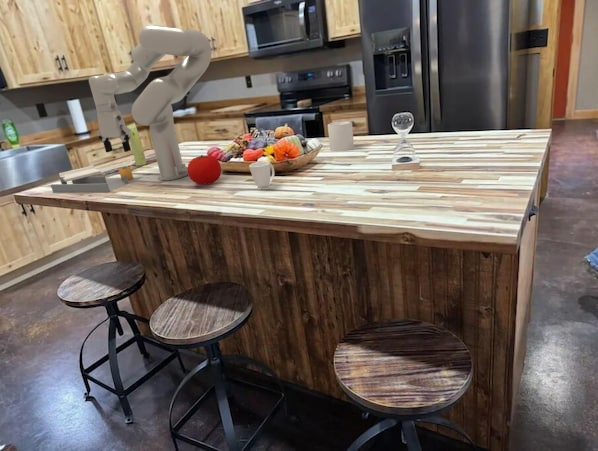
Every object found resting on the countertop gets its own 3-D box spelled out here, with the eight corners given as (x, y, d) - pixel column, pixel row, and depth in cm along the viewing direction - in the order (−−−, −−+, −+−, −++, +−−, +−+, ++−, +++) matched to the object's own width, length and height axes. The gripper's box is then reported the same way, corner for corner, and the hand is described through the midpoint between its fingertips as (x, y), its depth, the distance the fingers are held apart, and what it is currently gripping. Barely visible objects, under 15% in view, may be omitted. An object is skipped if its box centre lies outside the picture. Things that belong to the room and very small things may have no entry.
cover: (97, 177, 187) (93, 165, 185) (103, 180, 179) (99, 168, 177) (60, 186, 179) (56, 174, 177) (65, 190, 171) (61, 177, 169)
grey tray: (143, 177, 176) (140, 169, 175) (108, 193, 160) (105, 184, 159) (90, 179, 188) (88, 171, 187) (53, 193, 171) (50, 184, 170)
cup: (248, 190, 139) (244, 166, 136) (267, 181, 146) (263, 158, 144) (265, 191, 135) (261, 167, 132) (283, 182, 143) (279, 159, 140)
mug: (325, 147, 187) (322, 123, 183) (346, 143, 189) (344, 119, 185) (334, 152, 175) (331, 126, 171) (357, 148, 177) (355, 122, 173)
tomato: (228, 178, 158) (222, 150, 154) (213, 188, 147) (207, 158, 143) (201, 179, 161) (195, 152, 157) (185, 189, 150) (178, 160, 147)
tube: (148, 164, 203) (137, 123, 196) (137, 166, 200) (126, 125, 193) (145, 162, 207) (134, 122, 200) (135, 165, 205) (123, 124, 198)
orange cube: (135, 177, 177) (132, 166, 176) (128, 180, 174) (124, 169, 172) (127, 177, 179) (124, 166, 177) (119, 180, 175) (116, 169, 174)
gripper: (130, 105, 166) (141, 148, 172) (97, 108, 172) (109, 149, 179) (116, 108, 159) (128, 153, 166) (83, 111, 166) (95, 154, 172)
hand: (118, 151), depth 172 cm, fingers open, 9 cm apart
